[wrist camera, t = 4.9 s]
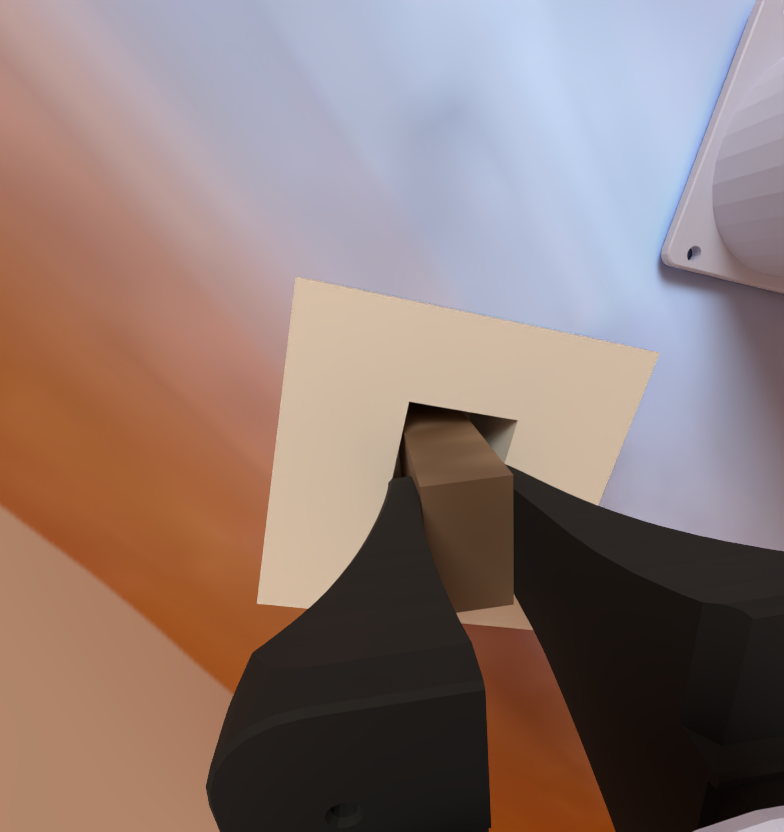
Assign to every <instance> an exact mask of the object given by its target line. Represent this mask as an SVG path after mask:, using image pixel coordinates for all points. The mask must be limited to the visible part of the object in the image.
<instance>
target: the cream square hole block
mask: <svg viewBox="0 0 784 832" xmlns="http://www.w3.org/2000/svg"><path fill="white" fill-rule="evenodd" d="M658 356H659V353H658V352H654V351H649V350H645V349H640V348H636V347H631V346H627V345H623V344H618V343H614V342H609V341H605V340H600V339H596V338H591V337H587V336H582V335H578V334H573V333H568V332H564V331H559V330H554V329H549V328H544V327H540V326H535V325H530V324H525V323H520V322H516V321H511V320H506V319H501V318H496V317H492V316H487V315H482V314H477V313H472V312H468V311H463V310H458V309H453V308H448V307H444V306H439V305H434V304H429V303H424V302H420V301H415V300H410V299H405V298H401V297H396V296H391V295H386V294H381V293H377V292H372V291H367V290H362V289H357V288H353V287H348V286H343V285H338V284H333V283H329V282H324V281H319V280H313V279H306V278H298V277H296V279H295V287H294V296H293V304H292V312H291V321H290V329H289V338H288V346H287V355H286V363H285V371H284V380H283V388H282V397H281V405H280V413H279V422H278V430H277V439H276V447H275V455H274V464H273V472H272V481H271V489H270V497H269V506H268V514H267V523H266V531H265V539H264V548H263V556H262V565H261V573H260V581H259V590H258V598H257V604H266V605H277V606H287V607H298V608H310V607H311V606H312V605H313V604H314V603H315V602H316V601H317V600H318V599H319V598H320V597H321V596H322V595H323V594H324V593H325V592H326V591H327V590H328V589H329V588H330V587H331V586H332V585H333V583H334V582H335V581H336V580H337V579H338V578H339V576H340V575H341V574H342V573H343V571H344V570H345V569H346V568H347V566H348V565H349V564H350V562H351V561H352V560H353V558H354V557H355V555H356V554H357V553H358V551H359V550H360V548H361V546H362V545H363V543H364V542H365V540H366V538H367V536H368V535H369V533H370V531H371V529H372V527H373V525H374V523H375V521H376V519H377V517H378V515H379V512H380V510H381V508H382V505H383V503H384V500H385V497H386V493H387V489H388V483H389V481H390V480H391V479H394V478H401V477H402V474H401V465H400V456H399V445H400V441H401V436H402V432H403V427H404V423H405V418H406V414H407V409H408V405H409V402H414V403H420V404H426V405H432V406H437V407H443V408H449V409H455V410H461V411H462V412H463V413H464V414H465V415H466V417H467V418H468V419H469V420H470V422H471V423H472V424H473V425H474V427H475V428H476V429H477V430H478V432H479V433H480V434H481V435H482V437H483V438H484V439H485V440H486V441H487V443H488V444H489V445H490V446H491V448H492V449H493V450H494V451H495V453H496V454H497V455H498V456H499V458H500V459H501V460H502V461H503V463H504V464H506V465H509V466H511V467H514V468H516V469H518V470H520V471H522V472H524V473H526V474H528V475H530V476H532V477H535V478H537V479H539V480H541V481H543V482H545V483H547V484H549V485H551V486H553V487H555V488H558V489H560V490H562V491H564V492H566V493H569V494H571V495H573V496H575V497H578V498H580V499H583V500H585V501H588V502H590V503H593V504H595V505H597V506H598V504H599V502H600V499H601V497H602V494H603V492H604V490H605V487H606V485H607V482H608V480H609V477H610V475H611V472H612V470H613V467H614V465H615V462H616V460H617V457H618V455H619V452H620V450H621V447H622V445H623V443H624V440H625V438H626V435H627V433H628V430H629V428H630V425H631V423H632V420H633V418H634V415H635V413H636V410H637V408H638V405H639V403H640V400H641V398H642V396H643V393H644V391H645V388H646V386H647V383H648V381H649V378H650V376H651V373H652V371H653V368H654V366H655V363H656V361H657V358H658ZM456 614H457V616H458V618H459V620H460V622H461V623H464V624H475V625H485V626H496V627H506V628H516V629H527V630H533V628H532V626H531V625H530V623H529V621H528V619H527V617H526V615H525V614H524V612H523V610H522V608H521V606H520V604H519V603H518V601H517V599H516V597H515V595H514V605H507V606H500V607H493V608H486V609H480V610H473V611H466V612H459V613H456Z"/></svg>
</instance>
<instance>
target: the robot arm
mask: <svg viewBox="0 0 784 832" xmlns="http://www.w3.org/2000/svg"><path fill="white" fill-rule="evenodd" d="M783 12H784V0H757V1H756V2H755V4H754V6H753V8H752V11H751V14H750V16H749V19H748V22H747V24H746V27H745V30H744V32H743V35H742V38H741V40H740V43H739V46H738V48H737V51H736V54H735V56H734V59H733V61H732V64H731V67H730V69H729V72H728V75H727V77H726V80H725V83H724V85H723V88H722V91H721V93H720V96H719V99H718V101H717V104H716V107H715V109H714V112H713V115H712V117H711V120H710V123H709V125H708V128H707V131H706V133H705V136H704V139H703V141H702V144H701V147H700V149H699V152H698V155H697V157H696V160H695V163H694V165H693V168H692V171H691V173H690V176H689V178H688V181H687V184H686V186H685V189H684V192H683V194H682V197H681V200H680V202H679V205H678V208H677V210H676V213H675V216H674V218H673V221H672V224H671V226H670V229H669V232H668V234H667V237H666V240H665V242H664V245H663V248H662V252H661V258H662V261H663V262H664V264H666V265H668V266H670V267H675V268H679V269H683V270H687V271H691V272H695V273H699V274H704V275H708V276H712V277H716V278H720V279H724V280H728V281H732V282H737V283H741V284H745V285H749V286H753V287H757V288H761V289H765V290H770V291H774V292H778V293H782V294H784V14H783ZM690 248H691V249H692V257H691V258H690V260H688V258H687V253H688V251H689V249H690ZM505 465H506V464H505ZM506 466H507V468H508V469H509V470H510V471H511V473H512V474H513V524H514V595H515V597H516V599H517V601H518V603H519V604H520V606H521V608H522V610H523V612H524V614H525V615H526V617H527V619H528V621H529V623H530V625H531V626H532V628H533V630H534V632H535V634H536V636H537V638H538V640H539V642H540V644H541V646H542V648H543V650H544V652H545V654H546V657H547V659H548V661H549V664H550V666H551V668H552V671H553V673H554V675H555V678H556V680H557V683H558V685H559V687H560V690H561V692H562V694H563V697H564V699H565V702H566V704H567V707H568V709H569V712H570V714H571V717H572V719H573V721H574V724H575V726H576V729H577V731H578V734H579V736H580V739H581V741H582V744H583V746H584V749H585V751H586V754H587V757H588V759H589V762H590V764H591V767H592V770H593V772H594V775H595V778H596V780H597V783H598V785H599V788H600V791H601V793H602V796H603V798H604V801H605V804H606V806H607V809H608V812H609V814H610V817H611V820H612V823H613V825H614V828H615V831H616V832H784V551H777V550H771V549H765V548H759V547H754V546H748V545H743V544H737V543H732V542H726V541H721V540H717V539H712V538H707V537H703V536H698V535H694V534H690V533H686V532H682V531H678V530H674V529H670V528H666V527H662V526H658V525H655V524H651V523H648V522H644V521H641V520H638V519H635V518H632V517H629V516H626V515H623V514H620V513H617V512H614V511H611V510H608V509H605V508H603V507H600V506H597V505H595V504H593V503H590V502H588V501H585V500H583V499H580V498H578V497H575V496H573V495H571V494H569V493H566V492H564V491H562V490H560V489H558V488H555V487H553V486H551V485H549V484H547V483H545V482H543V481H541V480H539V479H537V478H535V477H532V476H530V475H528V474H526V473H524V472H522V471H520V470H518V469H516V468H514V467H511V466H509V465H506ZM206 790H207V795H208V801H209V806H210V808H211V811H212V813H213V816H214V818H215V821H216V823H217V826H218V828H219V830H220V832H489V829H488V828H491V815H490V791H489V767H488V744H487V720H486V697H485V686H484V681H483V677H482V674H481V671H480V668H479V665H478V661H477V658H476V655H475V652H474V649H473V646H472V642H471V641H470V639H469V637H468V635H467V633H466V632H465V630H464V628H463V626H462V624H461V622H460V620H459V618H458V616H457V614H456V612H455V610H454V608H453V606H452V604H451V601H450V599H449V597H448V595H447V592H446V590H445V587H444V585H443V583H442V580H441V578H440V576H439V573H438V570H437V568H436V565H435V562H434V559H433V557H432V554H431V551H430V548H429V545H428V542H427V539H426V536H425V533H424V528H423V523H422V514H421V506H420V497H419V494H418V491H417V488H416V486H415V483H414V481H413V479H412V477H411V476H409V477H401V478H394V479H391V480H390V481H389V483H388V489H387V493H386V497H385V500H384V503H383V505H382V508H381V510H380V512H379V515H378V517H377V519H376V521H375V523H374V525H373V527H372V529H371V531H370V533H369V535H368V536H367V538H366V540H365V542H364V543H363V545H362V546H361V548H360V550H359V551H358V553H357V554H356V555H355V557H354V558H353V560H352V561H351V562H350V564H349V565H348V566H347V568H346V569H345V570H344V571H343V573H342V574H341V575H340V576H339V578H338V579H337V580H336V581H335V582H334V583H333V585H332V586H331V587H330V588H329V589H328V590H327V591H326V592H325V593H324V594H323V595H322V596H321V597H320V598H319V599H318V600H317V601H316V602H315V603H314V604H313V605H312V606H311V607H310V608H308V609H307V610H306V611H305V612H304V613H303V614H302V615H301V616H299V617H298V618H297V619H296V620H295V621H294V622H292V623H291V624H290V625H288V626H287V627H286V628H285V629H283V630H282V631H281V632H279V633H278V634H277V635H276V636H274V637H273V638H272V639H270V640H269V641H268V642H266V643H265V644H264V645H263V646H261V647H260V648H258V649H257V650H256V651H254V652H253V653H252V655H251V657H250V659H249V661H248V664H247V666H246V668H245V670H244V673H243V675H242V677H241V679H240V682H239V684H238V686H237V689H236V691H235V693H234V696H233V698H232V700H231V703H230V706H229V708H228V711H227V714H226V717H225V720H224V723H223V726H222V730H221V733H220V736H219V740H218V743H217V746H216V750H215V753H214V756H213V759H212V763H211V766H210V770H209V775H208V779H207V784H206Z"/></svg>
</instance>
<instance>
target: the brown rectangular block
mask: <svg viewBox="0 0 784 832" xmlns="http://www.w3.org/2000/svg"><path fill="white" fill-rule="evenodd" d="M399 456H400V465H401V474H402V477H409V476H411V477H412V479H413V481H414V483H415V486H416V488H417V491H418V494H419V497H420V506H421V514H422V523H423V528H424V533H425V536H426V539H427V542H428V545H429V548H430V551H431V554H432V557H433V559H434V562H435V565H436V568H437V570H438V573H439V576H440V578H441V580H442V583H443V585H444V587H445V590H446V592H447V595H448V597H449V599H450V601H451V604H452V606H453V608H454V610H455V612H456V613H459V612H466V611H473V610H480V609H486V608H493V607H500V606H507V605H514V524H513V474H512V473H511V471H510V470H509V469H508V468H507V466H506V465H505V464H504V463H503V461H502V460H501V459H500V458H499V456H498V455H497V454H496V453H495V451H494V450H493V449H492V448H491V446H490V445H489V444H488V443H487V441H486V440H485V439H484V438H483V437H482V435H481V434H480V433H479V432H478V430H477V429H476V428H475V427H474V425H473V424H472V423H471V422H470V420H469V419H468V418H467V417H466V415H465V414H464V413H463V412H462V411H461V410H455V409H449V408H443V407H437V406H432V405H426V404H420V403H414V402H409V405H408V409H407V414H406V418H405V423H404V427H403V432H402V436H401V441H400V445H399Z"/></svg>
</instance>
